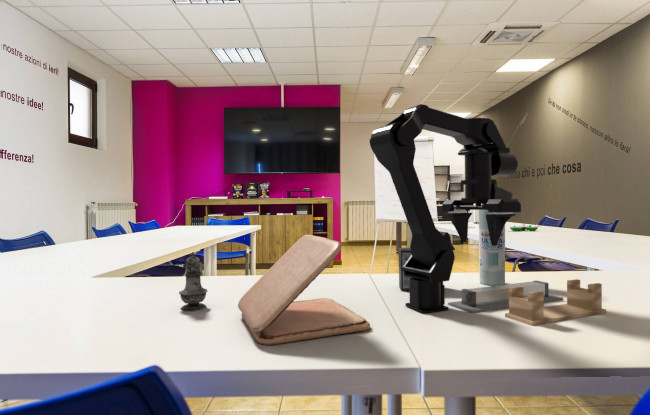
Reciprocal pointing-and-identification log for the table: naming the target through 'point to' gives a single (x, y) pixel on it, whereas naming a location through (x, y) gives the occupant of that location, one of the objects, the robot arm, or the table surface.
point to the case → (285, 286)
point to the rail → (499, 293)
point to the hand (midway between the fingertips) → (478, 243)
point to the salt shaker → (193, 286)
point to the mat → (494, 305)
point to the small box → (403, 280)
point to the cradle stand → (577, 305)
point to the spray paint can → (490, 254)
